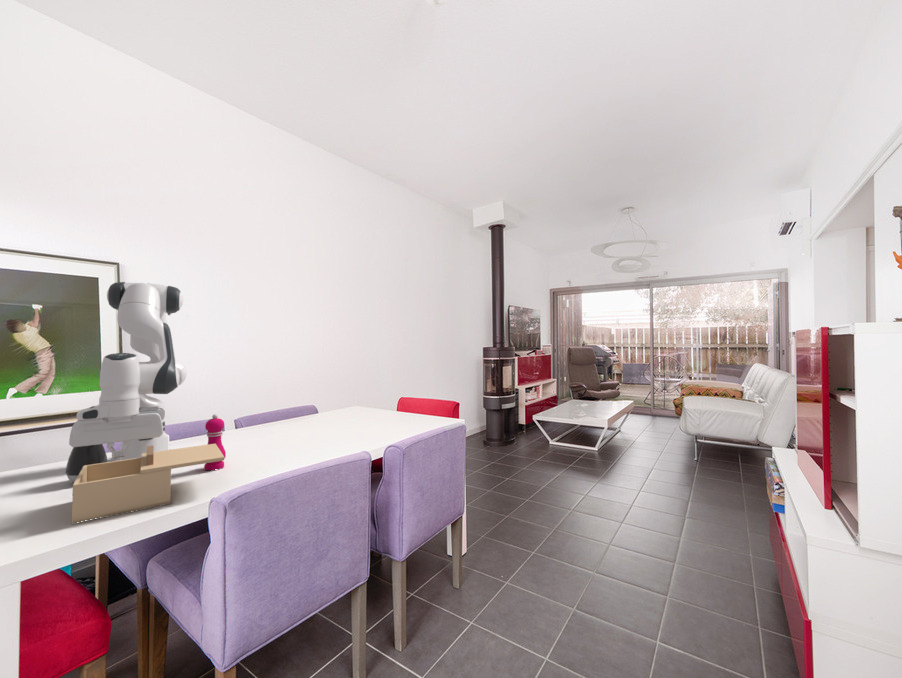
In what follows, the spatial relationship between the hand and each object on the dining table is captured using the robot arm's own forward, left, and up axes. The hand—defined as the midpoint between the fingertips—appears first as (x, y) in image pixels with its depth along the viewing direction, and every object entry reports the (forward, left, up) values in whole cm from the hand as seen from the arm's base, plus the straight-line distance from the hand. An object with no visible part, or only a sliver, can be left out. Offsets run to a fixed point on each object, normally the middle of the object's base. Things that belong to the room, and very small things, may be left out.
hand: (118, 457), depth 108 cm
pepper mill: (-19, +26, -13) cm, 35 cm away
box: (0, +2, -13) cm, 13 cm away
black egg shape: (-30, -9, -13) cm, 34 cm away
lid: (0, +15, -3) cm, 15 cm away
